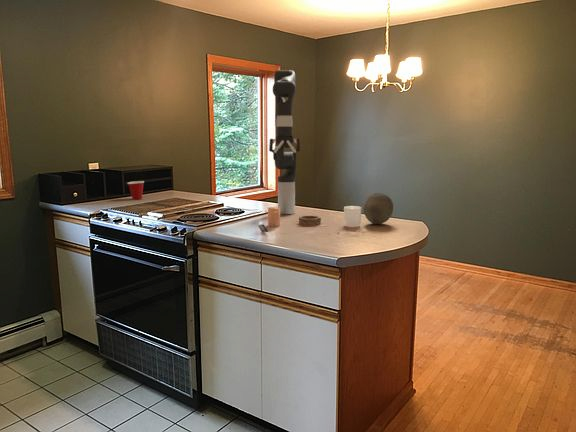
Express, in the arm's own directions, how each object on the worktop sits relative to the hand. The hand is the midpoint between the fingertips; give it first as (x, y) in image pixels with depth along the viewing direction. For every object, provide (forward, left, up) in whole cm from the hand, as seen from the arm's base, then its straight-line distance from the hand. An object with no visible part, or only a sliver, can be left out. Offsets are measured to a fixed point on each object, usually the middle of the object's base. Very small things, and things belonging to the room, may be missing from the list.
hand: (284, 160), depth 217 cm
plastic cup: (-104, -83, -30) cm, 136 cm away
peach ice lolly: (+13, -7, -30) cm, 33 cm away
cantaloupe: (+11, +43, -30) cm, 54 cm away
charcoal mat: (+10, -7, -30) cm, 32 cm away
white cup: (+18, +28, -30) cm, 45 cm away
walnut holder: (+10, +10, -30) cm, 33 cm away
